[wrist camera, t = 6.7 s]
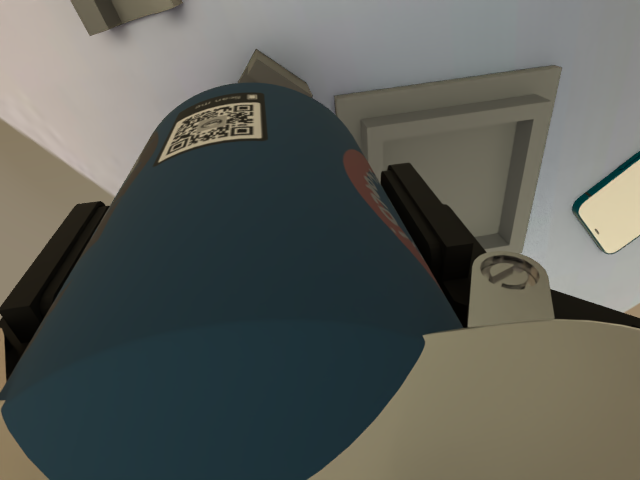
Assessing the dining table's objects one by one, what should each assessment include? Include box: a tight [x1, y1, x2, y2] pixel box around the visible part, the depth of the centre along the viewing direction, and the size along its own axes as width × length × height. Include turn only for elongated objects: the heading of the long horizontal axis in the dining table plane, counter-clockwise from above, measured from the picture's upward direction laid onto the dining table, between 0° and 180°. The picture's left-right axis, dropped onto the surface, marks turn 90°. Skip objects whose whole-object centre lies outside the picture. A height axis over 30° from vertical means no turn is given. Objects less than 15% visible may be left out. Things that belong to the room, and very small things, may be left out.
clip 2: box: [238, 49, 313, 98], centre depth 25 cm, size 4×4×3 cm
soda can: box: [0, 82, 463, 480], centre depth 9 cm, size 7×7×12 cm
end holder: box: [334, 65, 562, 254], centre depth 30 cm, size 15×15×3 cm
